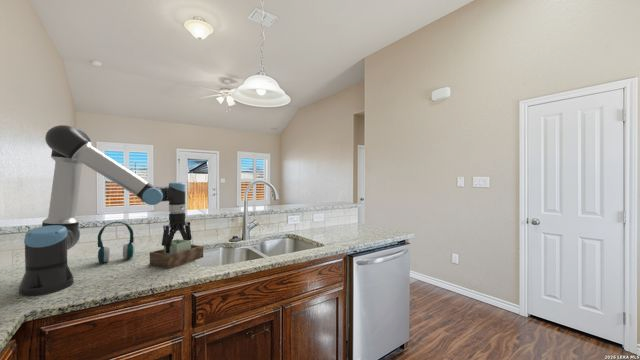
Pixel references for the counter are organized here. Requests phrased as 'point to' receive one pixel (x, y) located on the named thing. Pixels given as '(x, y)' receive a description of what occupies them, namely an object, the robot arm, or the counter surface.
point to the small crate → (179, 246)
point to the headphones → (104, 251)
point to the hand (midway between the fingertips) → (177, 256)
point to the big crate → (175, 257)
